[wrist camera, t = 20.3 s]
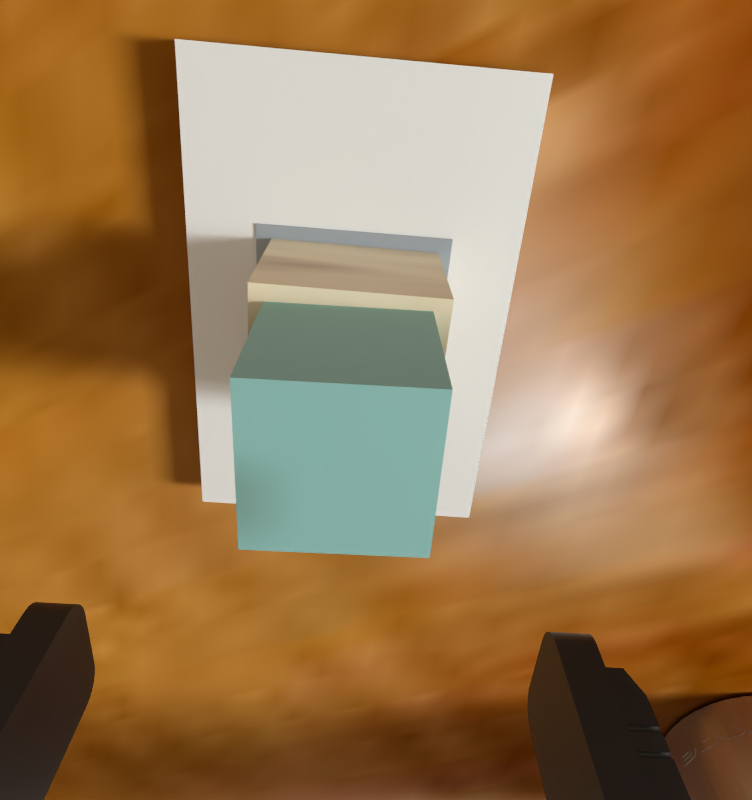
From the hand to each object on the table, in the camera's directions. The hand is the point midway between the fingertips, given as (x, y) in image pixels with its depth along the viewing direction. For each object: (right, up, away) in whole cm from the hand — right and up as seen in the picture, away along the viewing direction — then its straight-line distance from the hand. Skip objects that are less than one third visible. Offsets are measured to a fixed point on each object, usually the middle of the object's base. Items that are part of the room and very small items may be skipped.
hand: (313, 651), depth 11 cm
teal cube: (0, +5, +9) cm, 10 cm away
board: (0, +8, +14) cm, 16 cm away
